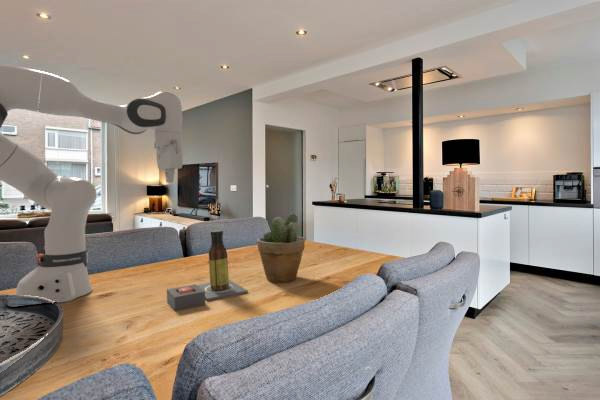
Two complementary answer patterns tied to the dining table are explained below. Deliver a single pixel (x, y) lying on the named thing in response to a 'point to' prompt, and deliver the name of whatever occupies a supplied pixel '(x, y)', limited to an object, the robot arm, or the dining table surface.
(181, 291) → the button
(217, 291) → the grey square plate
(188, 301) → the button housing
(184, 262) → the dining table surface
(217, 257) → the sauce bottle
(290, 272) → the potted plant
